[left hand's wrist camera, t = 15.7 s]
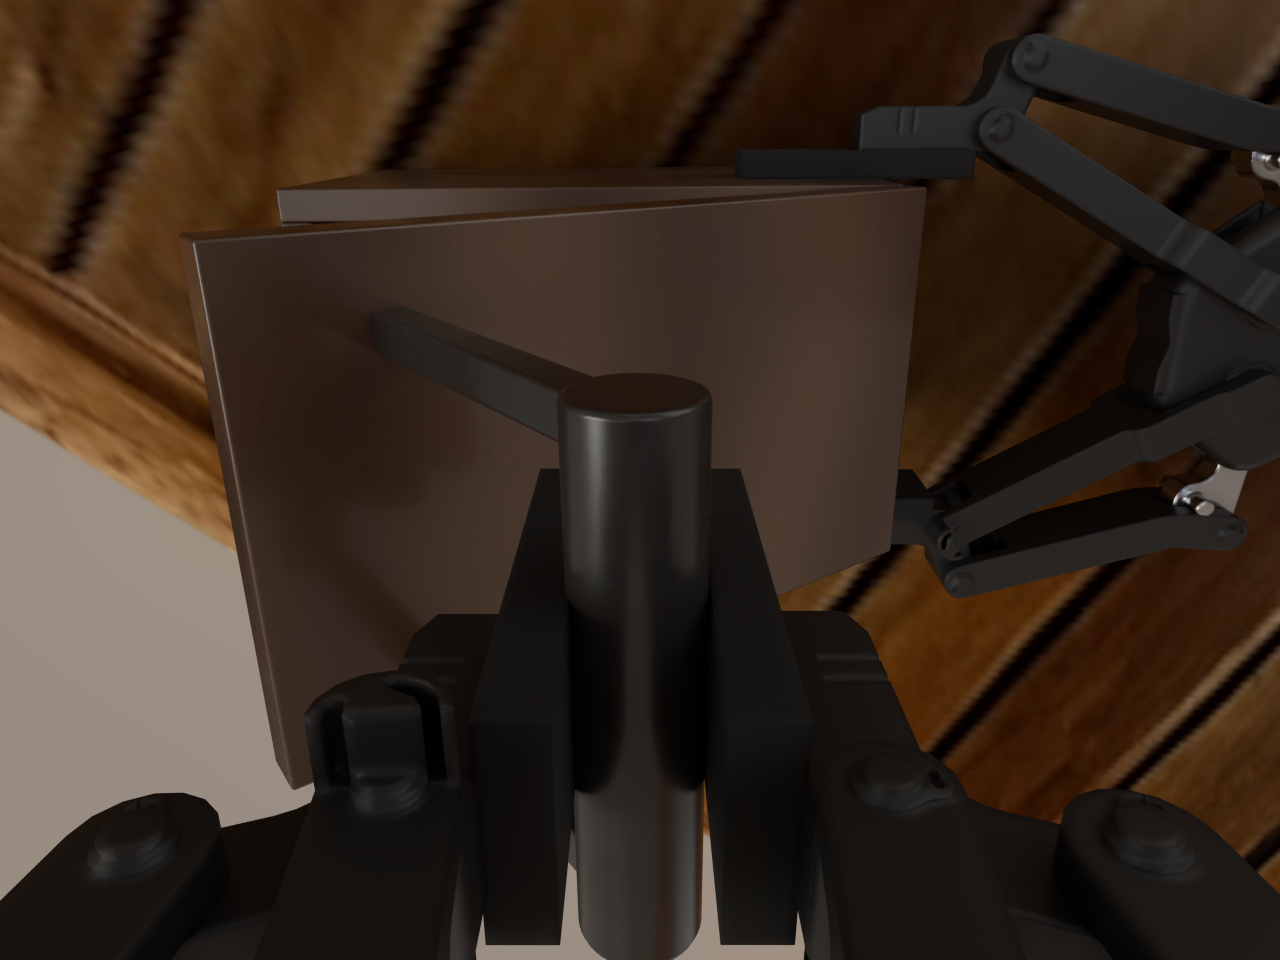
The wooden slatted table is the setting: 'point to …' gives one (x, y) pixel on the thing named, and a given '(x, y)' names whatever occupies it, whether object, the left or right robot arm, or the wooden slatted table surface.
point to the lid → (557, 459)
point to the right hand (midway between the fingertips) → (732, 340)
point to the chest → (520, 190)
